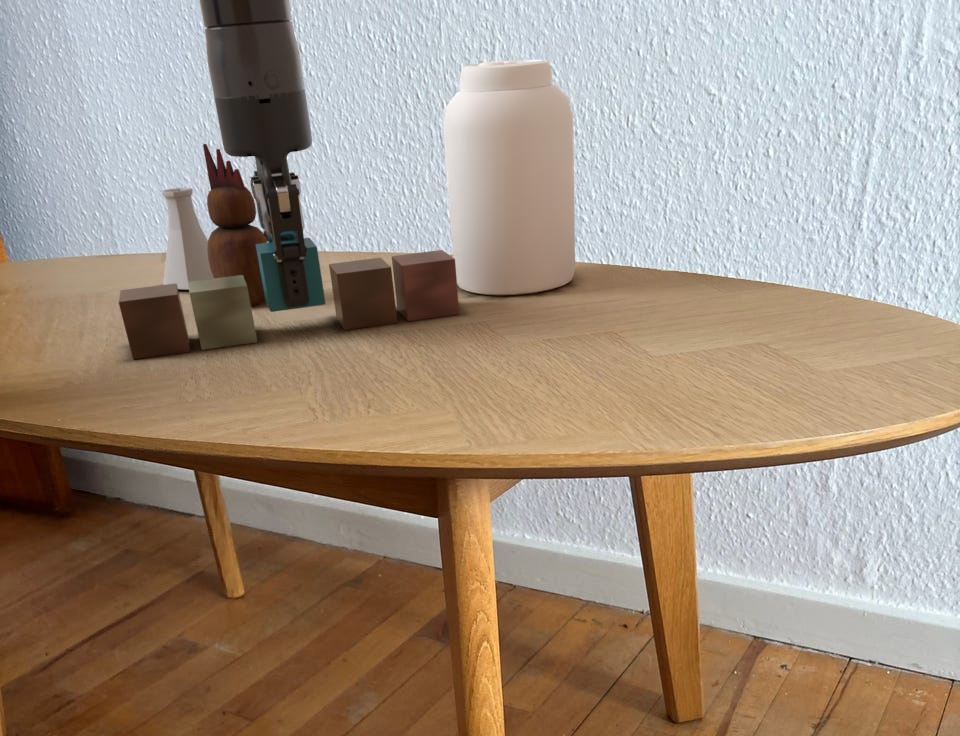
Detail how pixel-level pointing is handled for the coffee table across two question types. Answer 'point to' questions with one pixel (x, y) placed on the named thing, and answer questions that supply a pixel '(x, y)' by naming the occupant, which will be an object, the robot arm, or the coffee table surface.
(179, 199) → the flask
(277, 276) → the teal block
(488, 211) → the white jar
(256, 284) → the wooden figurine
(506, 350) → the coffee table surface
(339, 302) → the block row
